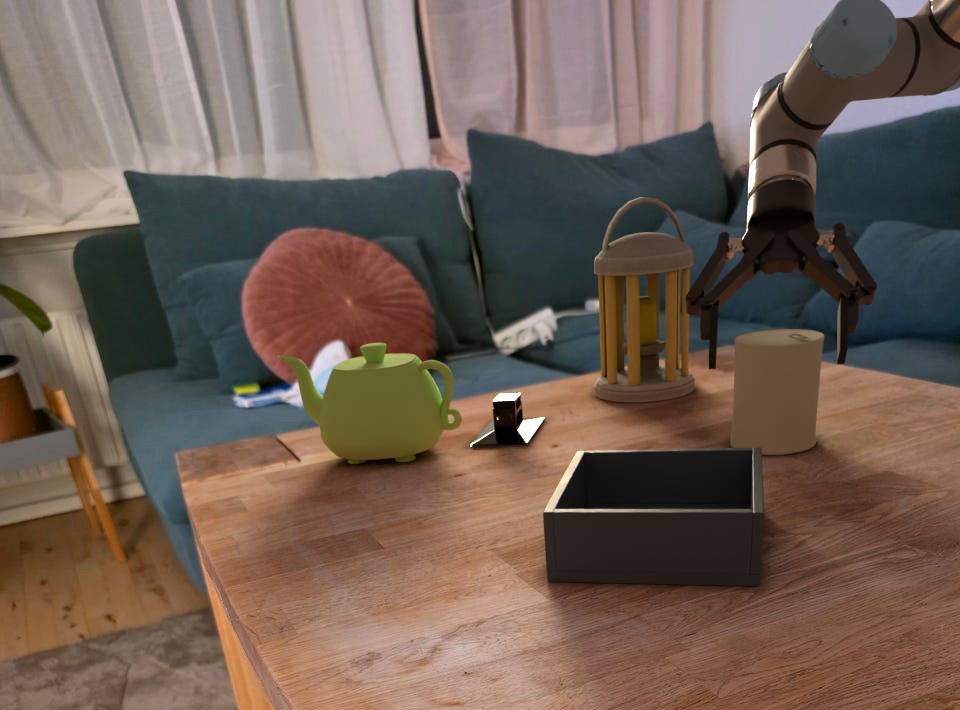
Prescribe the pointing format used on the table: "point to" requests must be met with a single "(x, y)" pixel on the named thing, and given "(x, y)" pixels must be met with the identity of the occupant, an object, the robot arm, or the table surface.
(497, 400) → the dark brown finned block
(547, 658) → the table surface
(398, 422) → the teapot
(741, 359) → the can
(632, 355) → the lantern
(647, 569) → the dark grey open box
